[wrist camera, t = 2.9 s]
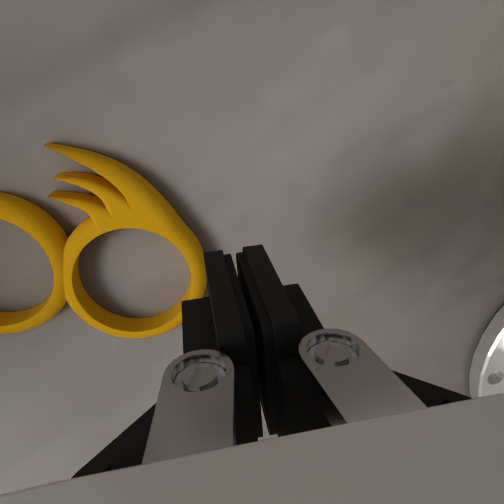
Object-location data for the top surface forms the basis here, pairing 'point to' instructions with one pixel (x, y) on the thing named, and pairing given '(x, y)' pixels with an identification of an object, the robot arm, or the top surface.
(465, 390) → the top surface
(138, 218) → the novelty glasses
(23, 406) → the top surface
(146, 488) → the robot arm
